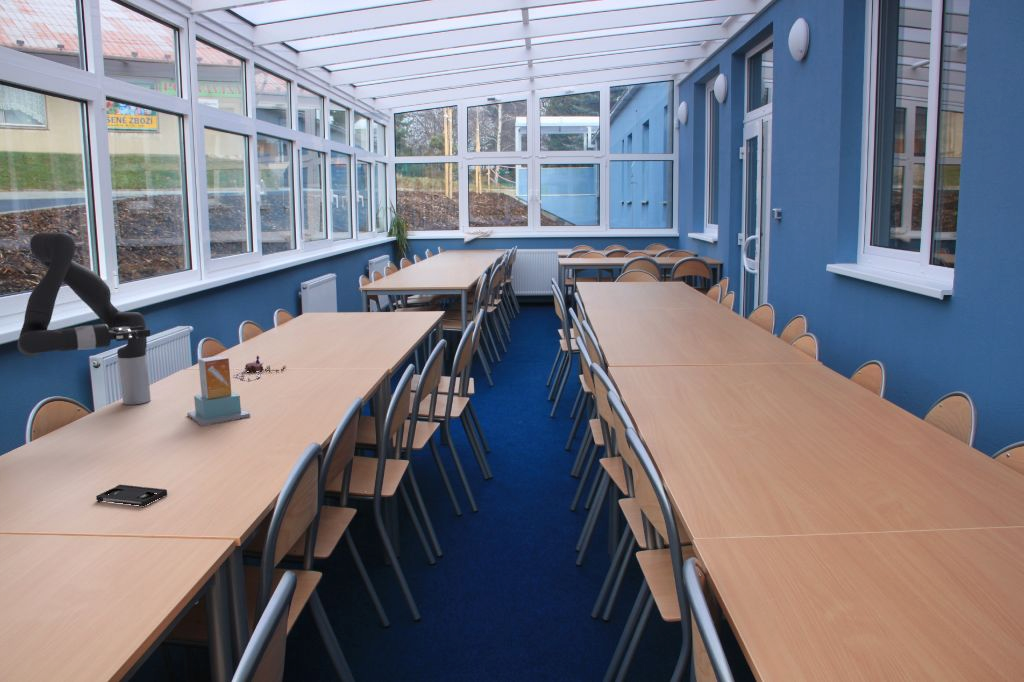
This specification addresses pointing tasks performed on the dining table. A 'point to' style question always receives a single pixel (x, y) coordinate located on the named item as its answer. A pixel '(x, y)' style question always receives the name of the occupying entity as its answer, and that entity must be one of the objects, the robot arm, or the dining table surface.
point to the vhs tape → (131, 495)
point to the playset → (256, 367)
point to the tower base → (218, 419)
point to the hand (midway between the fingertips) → (146, 330)
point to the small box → (215, 377)
